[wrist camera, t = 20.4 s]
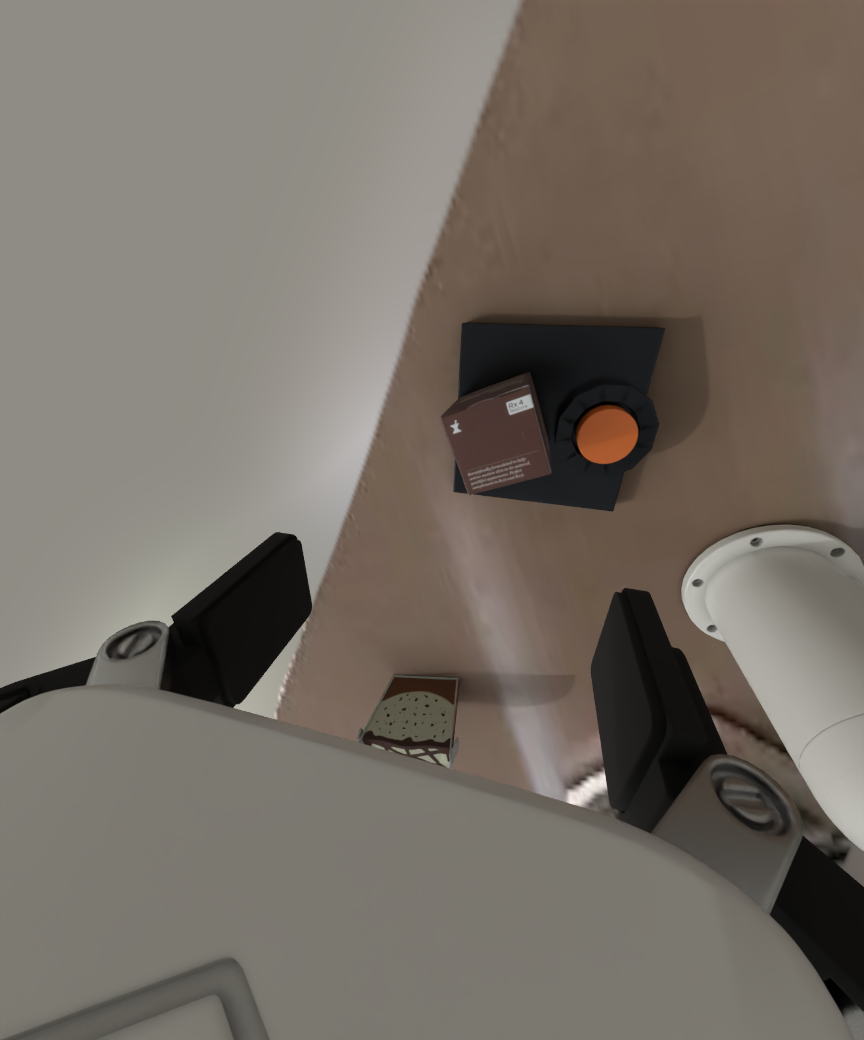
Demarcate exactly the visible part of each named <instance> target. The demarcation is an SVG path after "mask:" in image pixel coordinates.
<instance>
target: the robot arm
mask: <svg viewBox="0 0 864 1040" xmlns="http://www.w3.org/2000/svg"><path fill="white" fill-rule="evenodd" d="M681 593H682V601H683V604H684V607H685V609H686V611H687V613H688V615H689V617H690V619H691V620H692V621H693V622H694V623H695V624H696V626H697V627H698V628H700V629H701V630H702V631H703V632H705V633H706V634H708V635H710V636H712V637H714V638H716V639H718V640H721V641H724V642H726V644H727V646H728V648H729V649H730V651H731V653H732V655H733V656H734V658H735V660H736V662H737V663H738V665H739V667H740V669H741V670H742V672H743V674H744V676H745V677H746V679H747V681H748V683H749V684H750V686H751V688H752V690H753V691H754V693H755V695H756V697H757V698H758V700H759V702H760V703H761V705H762V707H763V709H764V710H765V712H766V714H767V716H768V717H769V719H770V721H771V723H772V724H773V726H774V728H775V730H776V731H777V733H778V735H779V737H780V738H781V740H782V742H783V744H784V745H785V747H786V749H787V751H788V752H789V754H790V756H791V758H792V759H793V761H794V763H795V764H796V766H797V768H798V770H799V771H800V773H801V775H802V777H803V778H804V780H805V781H806V783H807V785H808V786H809V788H810V790H811V792H812V793H813V795H814V797H815V799H816V800H817V802H818V803H819V805H820V806H821V808H822V809H823V810H824V812H825V813H826V814H827V816H828V817H829V818H830V819H831V821H832V822H833V823H834V824H835V825H836V826H837V827H838V829H839V830H840V831H841V832H842V833H843V834H844V835H845V836H846V837H847V838H848V839H849V840H850V841H851V842H853V843H854V844H855V845H856V846H858V847H859V848H860V849H861V850H863V851H864V565H863V563H862V561H861V559H860V557H859V556H858V555H857V554H856V553H855V552H854V551H853V550H852V548H851V547H849V546H848V545H847V544H845V543H844V542H842V541H841V540H840V539H838V538H837V537H835V536H833V535H831V534H829V533H827V532H825V531H822V530H818V529H815V528H811V527H807V526H799V525H769V526H762V527H756V528H752V529H748V530H745V531H741V532H738V533H735V534H733V535H731V536H729V537H726V538H724V539H722V540H720V541H718V542H717V543H715V544H714V545H712V546H710V547H709V548H707V549H706V550H705V551H704V552H703V553H702V554H701V555H699V556H698V557H697V558H696V559H695V561H694V562H693V563H692V564H691V566H690V567H689V569H688V571H687V573H686V575H685V577H684V579H683V583H682V588H681ZM311 610H312V602H311V596H310V590H309V585H308V579H307V573H306V567H305V561H304V556H303V550H302V544H301V542H300V541H299V540H297V537H296V536H295V535H292V534H286V533H280V532H276V533H274V534H273V535H271V536H270V537H269V538H268V539H267V540H265V541H264V542H263V543H261V544H260V545H259V546H258V547H256V548H255V549H254V550H253V551H252V552H250V553H249V554H248V555H247V556H245V557H244V558H243V559H242V560H240V561H239V562H238V563H237V564H235V565H234V566H233V567H232V568H230V569H229V570H228V571H227V572H225V573H224V574H223V575H222V576H221V577H219V578H218V579H217V580H216V581H215V582H213V583H212V584H211V585H210V586H208V587H207V588H206V589H205V590H203V591H202V592H201V593H199V594H198V595H197V596H196V597H195V598H193V599H192V600H191V601H190V602H188V603H187V604H186V605H185V606H183V607H182V608H181V609H180V610H178V611H177V612H176V613H175V614H174V615H172V616H171V617H172V619H173V621H174V623H173V624H172V625H171V626H170V627H168V626H167V625H166V624H165V623H163V622H160V621H145V622H140V623H137V624H134V625H131V626H128V627H126V628H124V629H122V630H120V631H118V632H117V633H115V634H114V635H112V636H111V637H109V638H108V639H107V641H105V642H104V643H103V644H102V646H101V648H100V649H99V651H98V654H97V656H96V657H94V658H91V659H88V660H85V661H81V662H78V663H75V664H72V665H69V666H65V667H62V668H59V669H56V670H53V671H49V672H46V673H43V674H40V675H36V676H33V677H31V678H27V679H24V680H21V681H17V682H15V683H12V684H10V685H7V686H4V687H2V688H0V1040H864V887H863V886H862V885H861V884H860V883H858V882H857V881H856V880H854V878H852V877H851V876H850V875H849V874H848V873H846V872H845V871H844V870H843V869H842V868H841V867H839V866H838V865H837V864H836V863H835V862H833V861H832V860H831V859H830V858H829V857H827V856H826V855H825V854H824V853H823V852H821V851H820V850H819V849H818V848H817V847H816V846H814V845H813V844H812V843H811V842H810V841H808V840H807V839H806V838H805V837H804V836H802V834H803V823H802V820H801V817H800V813H799V811H798V809H797V808H796V806H795V804H794V803H793V801H792V799H791V798H790V796H789V795H788V794H787V793H786V792H785V791H784V790H783V788H782V787H781V786H780V785H779V784H778V783H777V782H776V781H775V780H774V779H772V778H771V777H770V776H769V775H768V774H766V773H765V772H764V771H763V770H761V769H759V768H758V767H756V766H755V765H753V764H751V763H750V762H748V761H745V760H743V759H740V758H738V757H735V756H731V755H727V752H726V750H725V748H724V745H723V743H722V741H721V738H720V736H719V734H718V731H717V729H716V727H715V725H714V722H713V720H712V718H711V715H710V713H709V711H708V708H707V706H706V704H705V701H704V699H703V697H702V694H701V692H700V690H699V687H698V685H697V683H696V680H695V678H694V676H693V673H692V671H691V669H690V666H689V664H688V662H687V659H686V657H685V655H684V654H683V652H682V651H681V650H680V649H678V648H673V647H671V645H670V642H669V640H668V637H667V635H666V632H665V630H664V627H663V625H662V622H661V620H660V617H659V615H658V612H657V610H656V607H655V605H654V602H653V600H652V597H651V595H650V593H649V592H647V591H641V590H635V589H628V588H624V589H623V590H622V593H619V592H615V594H614V596H613V598H612V601H611V605H610V608H609V611H608V614H607V617H606V620H605V623H604V626H603V629H602V632H601V635H600V638H599V642H598V645H597V648H596V651H595V654H594V657H593V660H592V664H591V678H592V685H593V692H594V699H595V706H596V713H597V720H598V727H599V734H600V741H601V748H602V754H603V761H604V768H605V775H606V782H607V789H608V796H609V802H610V805H611V807H612V808H614V809H617V810H618V811H619V817H620V821H619V820H617V819H614V818H611V817H608V816H605V815H602V814H600V813H597V812H594V811H591V810H588V809H586V808H582V807H579V806H576V805H572V804H569V803H566V802H562V801H559V800H556V799H553V798H549V797H546V796H543V795H539V794H536V793H533V792H530V791H526V790H523V789H520V788H516V787H513V786H510V785H506V784H503V783H499V782H496V781H492V780H489V779H485V778H482V777H478V776H475V775H471V774H468V773H464V772H461V771H457V770H454V769H450V768H446V767H443V766H439V765H436V764H432V763H429V762H425V761H422V760H418V759H415V758H411V757H408V756H404V755H401V754H397V753H394V752H390V751H386V750H383V749H379V748H376V747H372V746H369V745H365V744H361V743H358V742H354V741H351V740H347V739H344V738H340V737H336V736H333V735H329V734H326V733H322V732H318V731H315V730H311V729H308V728H304V727H300V726H297V725H293V724H290V723H286V722H282V721H279V720H275V719H271V718H268V717H264V716H260V715H257V714H253V713H249V712H246V711H241V710H238V709H235V708H233V707H234V706H235V705H236V704H240V703H241V702H242V701H243V700H244V699H245V698H246V697H247V695H248V694H249V693H250V691H251V690H252V689H253V687H254V686H255V685H256V684H257V682H258V681H259V680H260V678H261V677H262V676H263V675H264V673H265V672H266V671H267V669H268V668H269V667H270V666H271V664H272V663H273V662H274V660H275V659H276V658H277V656H278V655H279V654H280V653H281V651H282V650H283V649H284V647H285V646H286V645H287V644H288V642H289V641H290V640H291V639H292V637H293V636H294V635H295V633H296V632H297V631H298V629H299V628H300V627H301V626H302V624H303V623H304V622H305V621H306V619H307V618H308V617H309V615H310V613H311Z"/></svg>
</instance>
